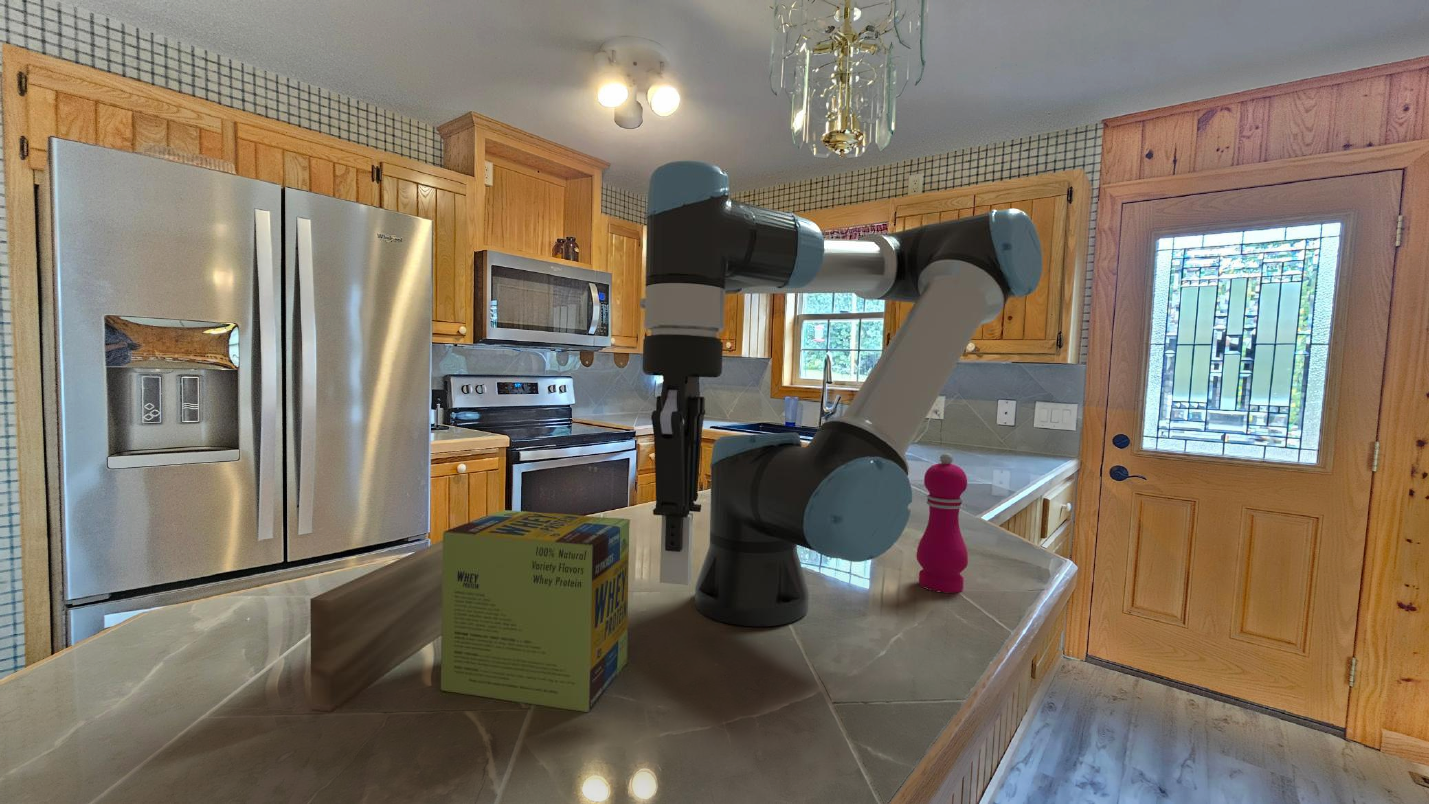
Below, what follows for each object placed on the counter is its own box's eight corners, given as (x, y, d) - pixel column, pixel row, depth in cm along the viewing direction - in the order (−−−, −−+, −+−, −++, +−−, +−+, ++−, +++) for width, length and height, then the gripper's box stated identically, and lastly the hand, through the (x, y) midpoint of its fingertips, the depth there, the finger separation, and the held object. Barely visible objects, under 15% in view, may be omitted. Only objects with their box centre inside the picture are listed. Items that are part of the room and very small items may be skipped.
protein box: (590, 714, 56) (594, 544, 55) (438, 692, 59) (439, 530, 58) (629, 661, 66) (632, 517, 66) (497, 645, 69) (499, 507, 69)
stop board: (457, 622, 75) (458, 540, 75) (330, 711, 55) (330, 600, 55) (442, 621, 75) (443, 539, 75) (310, 709, 56) (310, 598, 55)
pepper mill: (976, 589, 92) (983, 454, 91) (946, 598, 88) (953, 457, 87) (935, 575, 98) (940, 448, 97) (905, 583, 94) (910, 451, 93)
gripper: (661, 338, 66) (654, 558, 67) (624, 328, 53) (616, 601, 54) (731, 340, 65) (723, 564, 66) (711, 330, 52) (701, 609, 53)
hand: (675, 580), depth 60 cm, fingers closed
